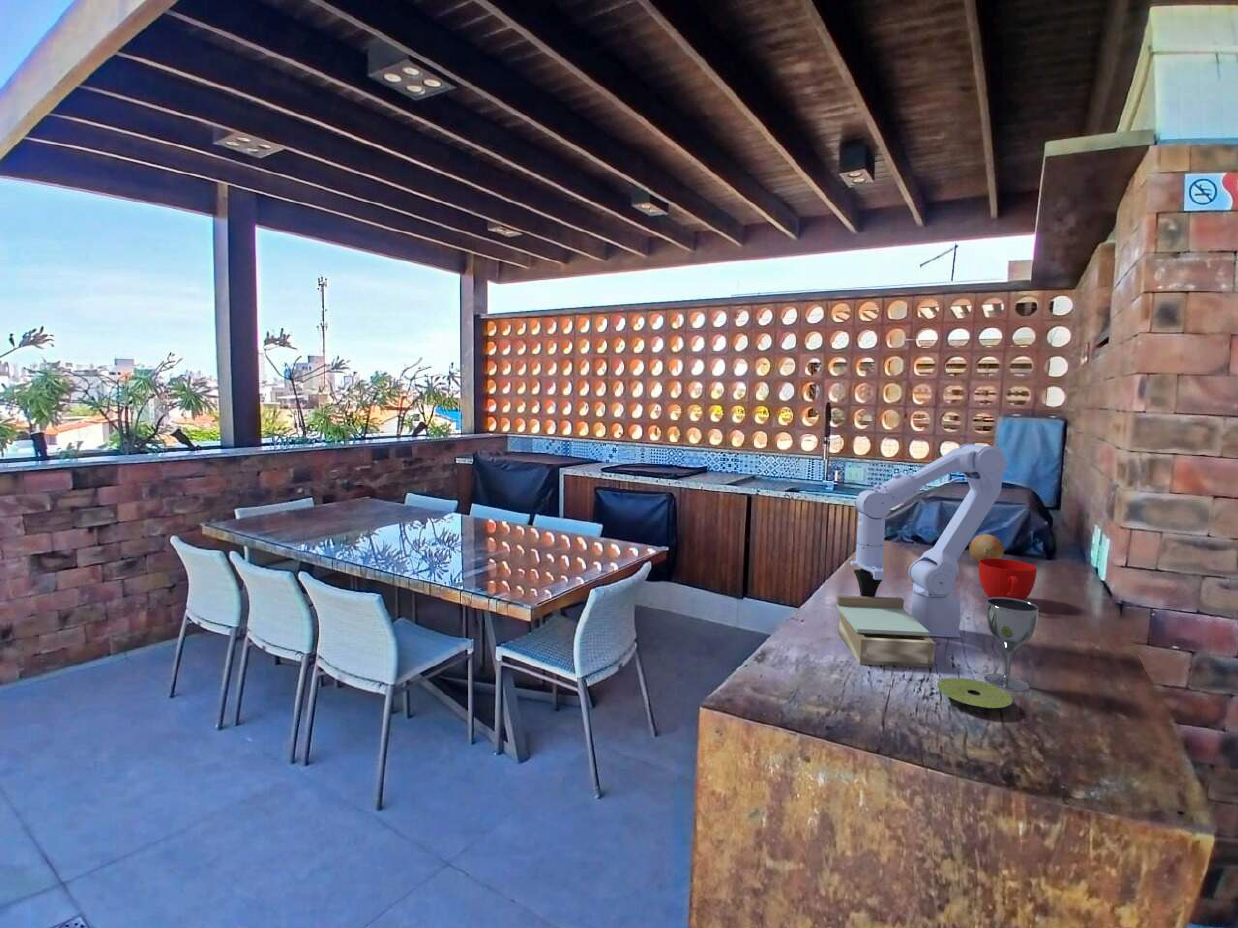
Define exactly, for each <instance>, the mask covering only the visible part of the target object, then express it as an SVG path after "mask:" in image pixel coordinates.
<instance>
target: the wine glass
mask: <svg viewBox="0 0 1238 928" xmlns="http://www.w3.org/2000/svg"><path fill="white" fill-rule="evenodd" d="M1038 618H1039V606H1038V605H1037V604H1034V603H1032V602H1030V601H1027V600H1019V599H1014V598H1006V597H992V598H989V597H988V598H987V600H986V620H987V625H988V629H989V632H990V633H991V634H992V635H993V637H994V638H995V639H996V641H997V642H998V643H999V644H1000V646H1001V648H1002V649H1003V653H1004V661H1005V662H1004V665H1005V666H1004V674H1002V673H989V674H986V675H985V676H984V681H985V682H986V683H987V684H991V685H994V686H996V687H998V688H1000V689H1002V690H1007V691H1014V692H1025V691H1029V690H1030V684H1029V683H1027V682H1026V681H1024V680H1023V679H1021V678H1018V677H1015V676H1011V665H1012V659H1013V655H1014V654H1015V652H1016V651H1017V649H1019V648H1020V647H1021V646H1023V645H1024V644H1026V643H1027V642H1028V641H1029V640H1031V638H1032V637H1033V635H1034V633H1035V630H1036V627H1037V624H1038Z"/></svg>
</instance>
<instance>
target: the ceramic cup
mask: <svg viewBox="0 0 1238 928" xmlns="http://www.w3.org/2000/svg"><path fill="white" fill-rule="evenodd" d="M1037 571H1038V569H1037V567H1036V566H1035V565H1033V564H1030V563H1027V562H1022V561H1020V560H1013V559H1007V558H1005V559H1004V558H1001V559H982V560H980V561H979V563H978V578H979V582H980V585H981V588H982V590H983V592H984V593H985V594H986V596H987V597H988V599H989V598H992V597H1006V598H1014V599H1019V600H1023V601H1025V600H1026V599H1027V598H1028V596H1029V595H1030V594H1031V592H1032V591H1033V589H1034V585H1035V582H1036V579H1037Z"/></svg>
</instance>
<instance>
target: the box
mask: <svg viewBox="0 0 1238 928" xmlns="http://www.w3.org/2000/svg"><path fill="white" fill-rule="evenodd" d="M838 625H839V626H838V635H839V637H840V638H841V640H842V641H843V642H844V644H845V645H846V647H848V648H847V649H848V650H849V651H850V652H851V653H852V655H853V656H854V658H855V660H856V661H857V662H858V663H859V665H873V666H874V665H875V666H891V667H892V666H893V667H894V666H895V667H911V668H914V667H915V668H930V669H932V668H935V653H936V652H935V650H936V642H934V640H932V638H931V637H930V636H917V635H895V634H874V633H857V632H856V631H855V630H854V628H853V627H852V626H851V625H850V623H849V622H848V621H847V620H846V618H845V617H844V616H843V614H842V613H841V612H839V624H838Z"/></svg>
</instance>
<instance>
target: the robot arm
mask: <svg viewBox="0 0 1238 928" xmlns="http://www.w3.org/2000/svg"><path fill="white" fill-rule="evenodd" d="M1008 465H1009V464H1008V463H1007V460H1006V457H1005V455H1004V452H1003V451H1002V450H1001V449H1000V448H998V447H997V446H995V445H980V444H974V443H964V444H962V445H960V446H959V447H956V448H953V449H951V450H950V451H948V452H947V453H945V454H943V455H942V456H940V457H939V458H937V459H935V460H934V461H932V462H930V463H929V464H927V465H925V466H923V467H922V468H920V469H919V470H917V471H916V472H913V473H912V474H909V473H906V472H902V473H898V472H897V473H894V474H892V475H891V476H892V478H891V479H889V480H886V481H885V482H883V483H882V484H881V483H880V484H875V485H873V490H872V489H865V490H863V491H861V492H860V493H859V494H858V496H856V499H855V500H854V502H853V503H854V504H853V505H854V508H855V509H856V511H857V512H858V516H857V529H856V530H857V533H856V553H855V560H850V563H849V564H850V566H853V567H857V568H859V569H853V573H854V574H855V577H856V580H857V583H858V588H859V594H860V595H859V596H870V597H876V594H877V590H878V588H879V586H880V584H881V582H883V580H885V571H884V569H885V568H884V567H885V564H884V552H885V551H884V550H885V532H886V530H885V528H886V517H887V516H888V515H889V514H890V512H891V511H892V509H893V508H896V507H897V506H900V505H901V504H903V503H905V502H907V501H909V500H910V499H912V498H915V497H916V496H918V495H919V493H920V489H921V488H922V487H924V486H926V485H928V484H930V483H932V482H934V481H937V480H939V479H942V478H943V477H946V476H948V475H949V474H952V473H955V472H956V473H962V474H963V476H964V477H965V478H966V480H967V483H968V486H969V488H970V489H969V491H968V493H967V494H966V496H965V497H964V499H963V500H962V502H961V503H960V505H959V507H958V508H957V509H956V511H955V513H954V514H953V516H952V518H951V519H950V521H949V523H948V524H947V526H946V527H945V529H943V532H942V534H940V536H939V538H938V540H937V541H936V543H935V545H934V546H933V547H932V548H930V549H928V550H926V551H924V552H923V553H922V555H921V556H920V557H919V558H918V559H916V560H914V561H913V562H912V563H911V565H909V567H908V577H909V579H910V581H911V582H912V583H913V585H912V597H911V609H910V610H911V612H910V615H911V616H912V617H913V618H914V619H915V620H916V621H918V622H919V623H920V624H921V625H922V626H923V627H924V628H925V629H927V630H928V631H929V632H930V633H929V636H928V637H936V638H937V637H939V638H940V637H943V638H961V634H960V622H961V621H960V620H961V604H960V599H959V597H958V596H957V595H956V594H955V593H952V591H953V590H954V588H955V586H956V578H957V576H958V575H959V573H960V568H959V564H958V560H959V558H960V557H961V555H962V553H963V552H964V550H965V549H966V548H967V546H968V544H969V543H970V542H971V541H972V539H973V537H974V535H975V534H976V532H977V530H978V529H979V527H980V526H981V524H982V523H983V521H984V520H985V518H986V516H987V515H988V513H989V512H990V510H991V508H993V506H994V504H995V503H996V501H997V499H998V498H999V497H1000V494H1001V491H1002V485H1003V484H1002V483H1003V477H1004V472H1005V470H1006V469H1007V467H1008Z"/></svg>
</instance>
